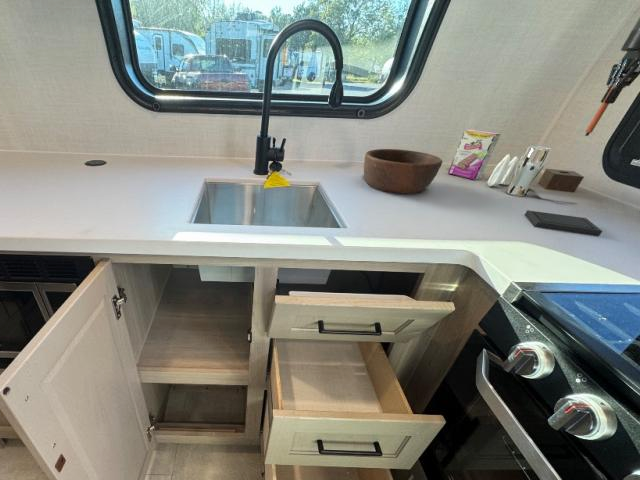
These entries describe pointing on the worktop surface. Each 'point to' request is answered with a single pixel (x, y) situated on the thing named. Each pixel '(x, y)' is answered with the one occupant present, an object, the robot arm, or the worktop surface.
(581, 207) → the worktop surface
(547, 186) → the stand
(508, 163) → the shaker set
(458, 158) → the candy bar box
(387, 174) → the wooden bowl
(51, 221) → the worktop surface
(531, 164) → the beer glass
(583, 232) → the tablet
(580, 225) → the screen
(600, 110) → the stylus
